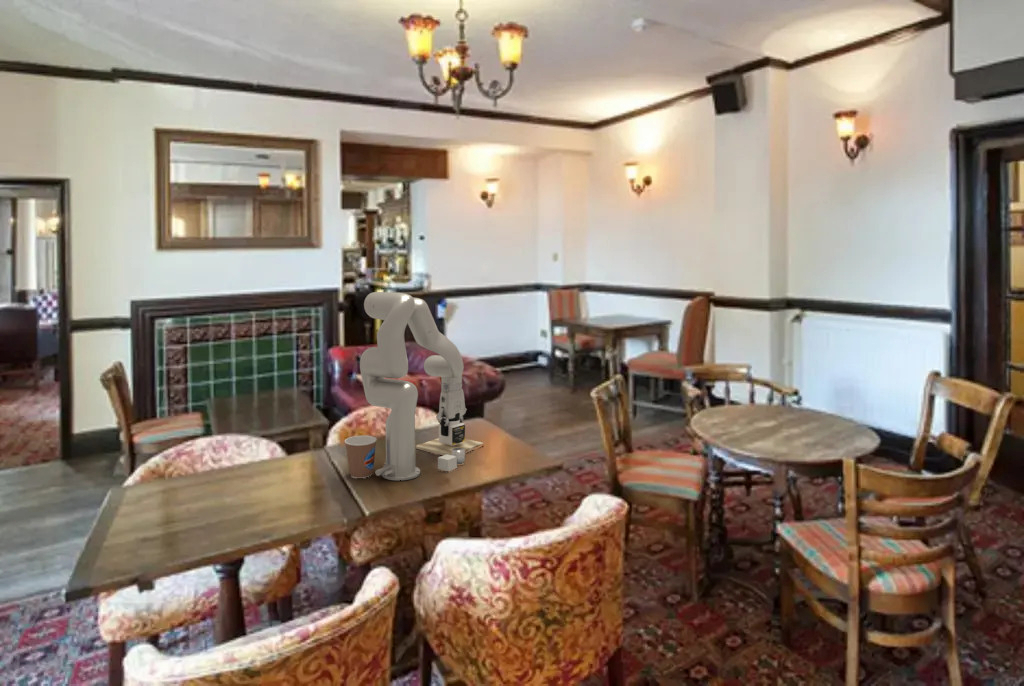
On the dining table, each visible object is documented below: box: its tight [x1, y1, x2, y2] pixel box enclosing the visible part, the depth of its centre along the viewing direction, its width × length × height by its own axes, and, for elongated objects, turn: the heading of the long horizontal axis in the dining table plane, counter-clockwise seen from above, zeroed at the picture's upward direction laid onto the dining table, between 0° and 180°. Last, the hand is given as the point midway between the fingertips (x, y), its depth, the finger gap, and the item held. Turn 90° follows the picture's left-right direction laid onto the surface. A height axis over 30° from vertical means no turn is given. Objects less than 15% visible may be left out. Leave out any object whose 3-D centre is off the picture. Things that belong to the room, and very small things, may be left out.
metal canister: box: [452, 448, 466, 464], centre depth 222 cm, size 4×4×5 cm
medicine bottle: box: [438, 413, 466, 446], centre depth 238 cm, size 7×7×12 cm
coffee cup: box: [344, 435, 378, 479], centre depth 209 cm, size 10×10×12 cm
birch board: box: [415, 437, 485, 455], centre depth 240 cm, size 18×18×2 cm
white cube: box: [437, 454, 458, 472], centre depth 216 cm, size 4×4×4 cm
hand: (451, 433), depth 239 cm, fingers closed on medicine bottle, 7 cm apart
